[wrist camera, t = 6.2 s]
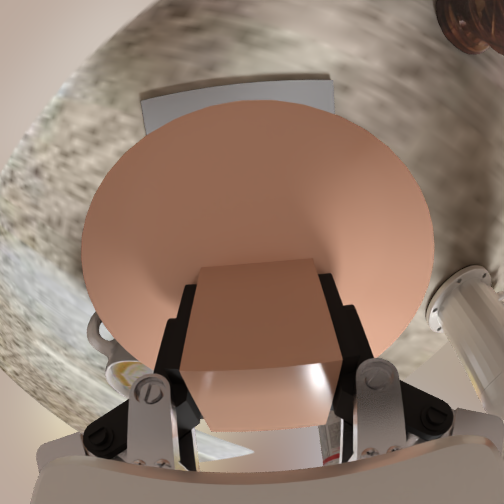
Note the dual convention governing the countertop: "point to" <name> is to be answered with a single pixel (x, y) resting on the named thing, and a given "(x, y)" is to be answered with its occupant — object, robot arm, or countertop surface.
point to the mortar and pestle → (473, 24)
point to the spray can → (330, 439)
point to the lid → (257, 253)
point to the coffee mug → (116, 360)
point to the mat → (237, 98)
